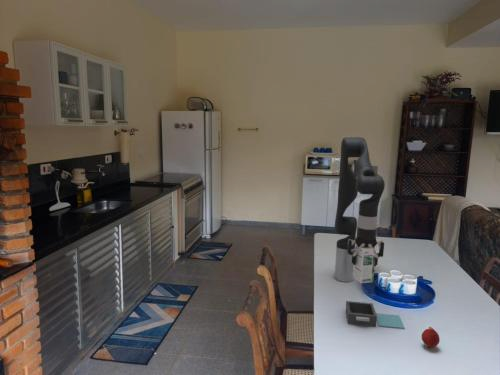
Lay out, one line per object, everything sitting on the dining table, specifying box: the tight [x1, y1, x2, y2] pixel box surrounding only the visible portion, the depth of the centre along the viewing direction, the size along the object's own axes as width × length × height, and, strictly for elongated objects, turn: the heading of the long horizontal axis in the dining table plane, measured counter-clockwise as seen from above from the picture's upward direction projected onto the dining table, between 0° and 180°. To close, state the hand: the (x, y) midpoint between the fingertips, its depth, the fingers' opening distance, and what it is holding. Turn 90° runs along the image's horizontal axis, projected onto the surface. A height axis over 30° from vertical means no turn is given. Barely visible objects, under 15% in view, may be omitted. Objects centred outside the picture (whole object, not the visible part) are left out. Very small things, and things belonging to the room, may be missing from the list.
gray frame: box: [344, 300, 378, 328], centre depth 153 cm, size 12×11×4 cm
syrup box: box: [353, 245, 375, 284], centre depth 149 cm, size 6×6×14 cm
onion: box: [421, 326, 440, 349], centre depth 134 cm, size 6×6×8 cm
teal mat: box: [376, 312, 406, 330], centre depth 152 cm, size 10×10×1 cm
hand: (364, 265), depth 150 cm, fingers closed on syrup box, 7 cm apart
